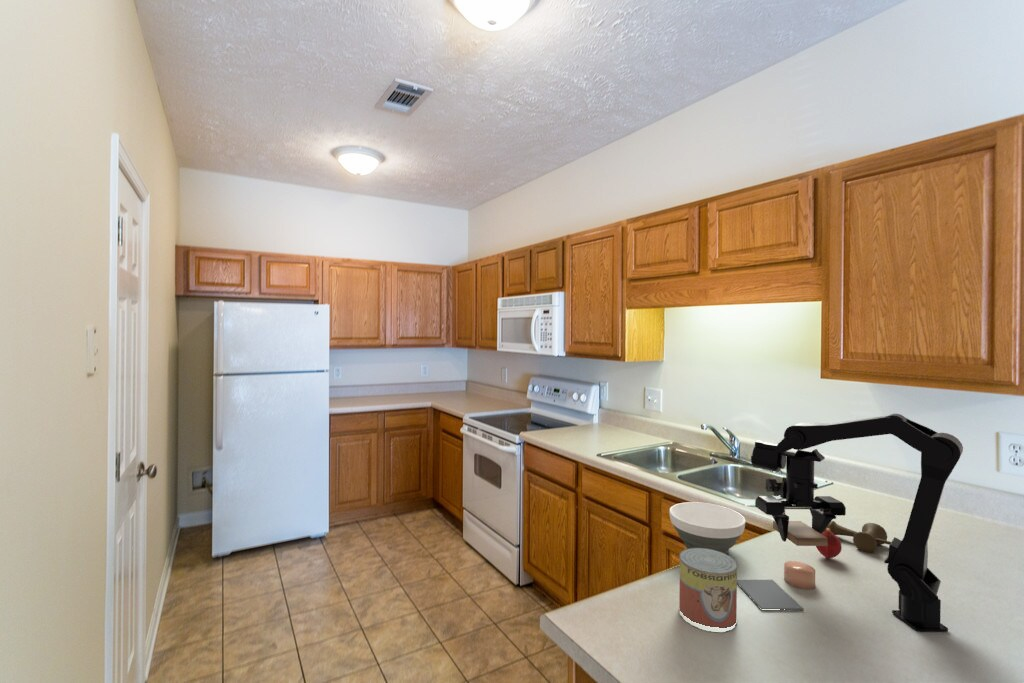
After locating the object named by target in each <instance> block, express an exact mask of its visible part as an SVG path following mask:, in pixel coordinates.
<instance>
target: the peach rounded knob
mask: <svg viewBox="0 0 1024 683" xmlns="http://www.w3.org/2000/svg"><path fill="white" fill-rule="evenodd" d="M783 580H784V581H785V582H786V583H787V584H788V585H790V586H793V587H796V588H798V589H803V590H808V589H809V590H811V589H814V588H815V587H816V569H815V568H814V567H813V566H811V565H809V564H808V563H806V562H805V563H804V562H801V561H796V560H787V561H785V562H784V563H783Z"/></svg>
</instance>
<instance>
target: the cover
mask: <svg viewBox="0 0 1024 683" xmlns="http://www.w3.org/2000/svg"><path fill="white" fill-rule="evenodd" d="M772 529H774V531H776V532H777V533H779V530H778V528H777V525H776V522H775V520H772ZM786 540H788V541H790V542H792V543H793V544H794V545H796V547H804V546H805V547H810V546H811V547H816V546H828V538H827V537H825V536H824V535H822V534H820V533H819V532H817V531H816V530H814V529H813V528H812V526H809V525H808V524H806V523H805V522H803V521H802V520H789V524H788V533H787V539H786Z"/></svg>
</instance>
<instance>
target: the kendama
mask: <svg viewBox="0 0 1024 683" xmlns="http://www.w3.org/2000/svg"><path fill="white" fill-rule="evenodd" d="M827 528H829V529H830V531H831V532H832V533H833V534H835V535H836V536H846V537H852V542H853V545H854V546H855V548H857V549H858V550H859V551H861V552H863V553H869V554H871V553H875V552H876V551H877V549H878V546H880V545H885V544H886V545H890V544H891V542H892V541H891V540H887V539H888V534H887V531H886V530H885V528H884V527H883V526H881V525H880V524H877V523H875V522H867V523H864V524H863V525H862V528H861V531H855V530H853V529H850V528H847V527H844V526H842V525H840V524H838V523H837V522H836V521H835V520H832V521H831V522H830V523H829V524H828V526H827V527H826V528H825V529H824V531H823V532H825V531H826V529H827Z"/></svg>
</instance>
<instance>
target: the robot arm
mask: <svg viewBox="0 0 1024 683" xmlns="http://www.w3.org/2000/svg"><path fill="white" fill-rule="evenodd" d="M883 435H892V436H895V437H897V438H898V440H901V441H902V442H903V443H905V444H907V445H908V446H910V447H911V448H913V449H915V450H916V451H918V452H920V475H921V476H920V480H919V484H918V487H917V490H916V494H915V498H914V502H913V504H912V508H911V511H910V514H909V517H908V522H907V524H906V528H905V532H904V536H903V538H902V539H899V538H898V537H895V536H894V537H893V539H892V540H891V541H890V542H891V544H890V545H889V544H888V545H889V546H888V547H889V548H888V554H887V556H886V558H885V560H884V562H883V563H884V564H888V565H887V568H886V569H887V573H888V574H889V576H890V578H891V579H892V580H893V581H894V582H895V583H897V586H898V588H899V590H898V609H897V610H896V609H892V610H891V613H892V614H893V615H894V616H896V617H897V618H898V619H900V620H901V621H903V622H904V623H905V624H906V625H908V626H909V627H911V628H912V629H913V630H915V631H917V632H948V630H949V627H947V626H945V625H944V624H943V623H941V612H942V611H941V604H942V603H941V602H942V600H941V599H940V598H939V596H938V595H937V594H938V592H939V589H940V585H941V583H942V582H941V580H940V578H939V577H937V576H936V574H935V573H934V572H933V571H932V570H930V568H929V567H928V558H929V550H928V548H929V547H928V541H929V538H930V534H931V531H932V528H933V525H934V521H935V518H936V515H937V512H938V508H939V504H940V501H941V499H942V495H943V491H944V489H945V488H944V487H945V484H946V482H947V481H948V479H949V477H950V476H951V474H952V472H953V471H954V468H955V467H956V466H957V464H958V462H959V460H960V458H961V456H962V454H963V452H964V446H963V443H962V442H961V441H960V440H959V438H957V437H956V436H954V435H952V434H950V433H947V432H937V431H935V430H933V429H931V428H929V427H928V426H925V425H923V424H920V423H918V422H915V421H913V420H911V419H909V418H907V417H906V416H904V415H902V414H900V413H891V414H889V415H883V416H874V417H867V418H861V419H854V420H847V421H840V422H832V423H831V422H830V423H823V422H822V423H821V422H799V423H796V424H792V425H790V426H788V427H786V429H785V430H784V434H783V439H781V440H780V442H778V443H770V442H765V441H763V440H757V441H755V442H754V447H753V450H752V454H751V456H750V462H751V466H752V467H753V468H755V469H761V470H766V471H770V472H777V473H779V472H780V471H781V469H783V470H784V469H785V467H786V469H785V470H786V475H785V476H783V477H782V482H778V481H777V479H776V478H766V479H765V489H766V492H767V493H773V495H758V496H757V497H756V499H755V503H754V506H755V507H756V508H757V509H758V510H760V511H761V512H762V513H764V514H766V515H768V516H772V518H773V521H775V522H776V525H777V528H778V530H779V532H778V533H779V536H780V538H781V541H782V542H787V540H788V539H787V533H788V524H789V521H790V516H788V515H787V514H786V510H809V511H810V514H811V515H810V516H811V528H813V529H814V530H816V531H817V532H819V533H820V534H822V532H823V531H824V529H825V528H826V527H827V526H828V524H829V523H830V522H831V521H834V519H835V520H836V519H837V516H846V514H847V512H846V511H847V510H846V509H847V508H846V505H845V504H844V503H843V501H840V500H838V499H836V498H834V497H832V496H831V495H823V496H822V495H815V489H818V487H819V486H818V483H816V482H815V462H818V463H820V462H822V461H824V460H825V459H826V458H825V456H824V455H823V454H821V453H820V451H818V449H817V448H816V449H814V450H812V451H809V450H805V449H809V448H813V447H816V446H819V445H822V444H825V443H829V442H833V441H842V440H843V441H844V440H849V439H858V438H868V437H875V436H883ZM792 449H793V450H796V452H793V451H790V450H792ZM776 497H780V498H781V499H785V500H780V499H778V498H776Z"/></svg>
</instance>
